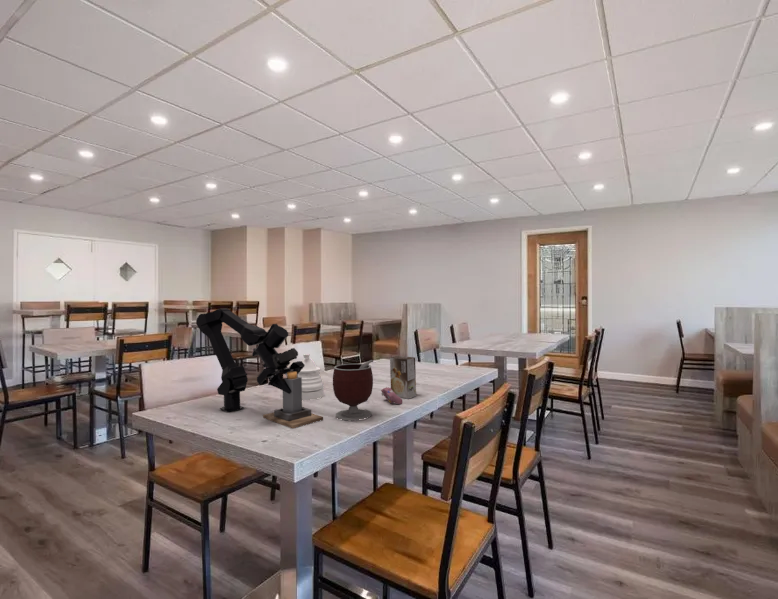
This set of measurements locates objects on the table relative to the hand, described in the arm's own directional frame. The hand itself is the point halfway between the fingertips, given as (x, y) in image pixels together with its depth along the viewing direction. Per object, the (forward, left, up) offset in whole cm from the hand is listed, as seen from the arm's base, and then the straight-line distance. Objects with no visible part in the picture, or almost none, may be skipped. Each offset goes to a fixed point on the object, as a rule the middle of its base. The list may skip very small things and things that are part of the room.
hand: (295, 391), depth 138 cm
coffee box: (+7, +48, -10) cm, 49 cm away
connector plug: (-1, 0, -8) cm, 8 cm away
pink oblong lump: (+9, +37, -10) cm, 40 cm away
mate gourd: (+13, +16, -10) cm, 22 cm away
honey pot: (-23, +22, -10) cm, 33 cm away
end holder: (-1, 0, -9) cm, 10 cm away
